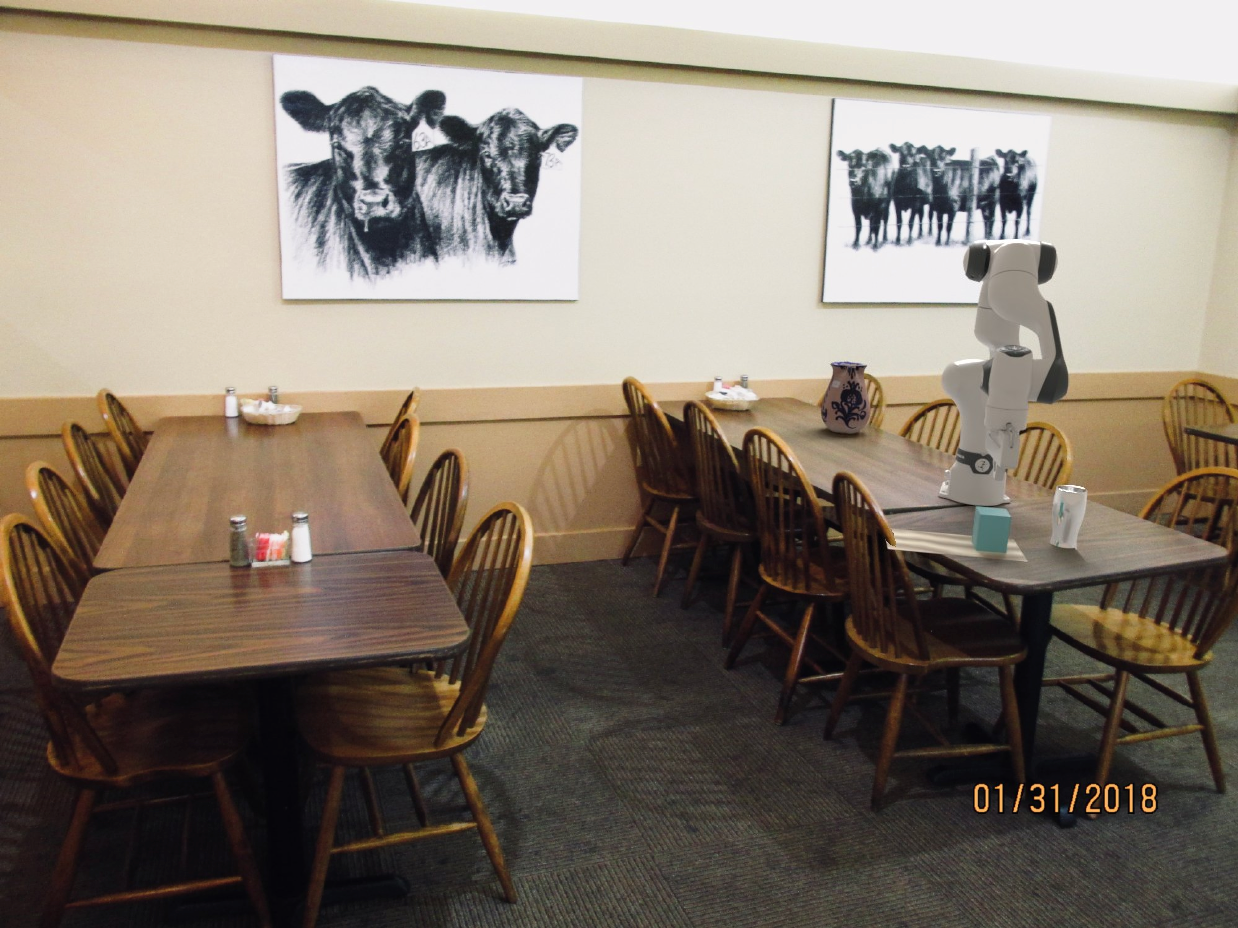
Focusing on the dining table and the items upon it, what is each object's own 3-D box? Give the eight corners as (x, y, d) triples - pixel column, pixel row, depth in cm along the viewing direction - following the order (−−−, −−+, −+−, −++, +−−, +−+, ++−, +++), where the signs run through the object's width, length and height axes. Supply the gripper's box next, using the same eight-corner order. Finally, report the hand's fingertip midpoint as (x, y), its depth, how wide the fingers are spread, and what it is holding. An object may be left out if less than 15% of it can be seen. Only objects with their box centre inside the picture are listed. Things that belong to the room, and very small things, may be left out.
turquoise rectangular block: (971, 541, 223) (975, 506, 221) (1000, 544, 222) (1005, 508, 220) (975, 550, 217) (980, 514, 215) (1006, 553, 216) (1011, 516, 214)
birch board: (882, 533, 232) (883, 527, 231) (1013, 545, 226) (1013, 539, 226) (887, 554, 216) (887, 548, 216) (1026, 568, 211) (1027, 561, 210)
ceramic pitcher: (827, 436, 340) (833, 366, 334) (811, 424, 360) (816, 358, 354) (875, 437, 342) (882, 367, 335) (856, 425, 362) (862, 359, 356)
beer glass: (1063, 556, 220) (1073, 493, 216) (1039, 546, 226) (1048, 485, 222) (1085, 553, 222) (1095, 491, 219) (1061, 543, 228) (1070, 483, 225)
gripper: (1030, 429, 202) (1021, 492, 205) (1011, 412, 221) (1004, 470, 224) (999, 427, 203) (990, 489, 206) (983, 410, 222) (976, 467, 226)
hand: (997, 479), depth 215 cm, fingers closed
